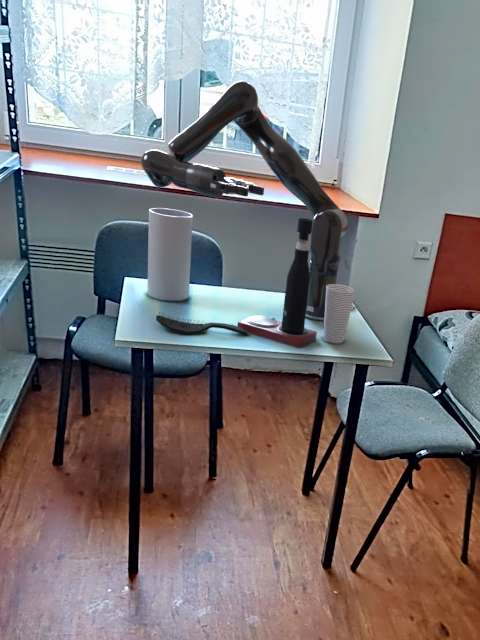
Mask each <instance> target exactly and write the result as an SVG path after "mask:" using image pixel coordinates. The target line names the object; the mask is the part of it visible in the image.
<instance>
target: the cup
mask: <svg viewBox="0 0 480 640" xmlns="http://www.w3.org/2000/svg"><path fill="white" fill-rule="evenodd" d="M355 295H356V289H355V288H354V287H351V286H349V285H345V284H339V283H337V284H328V285H326V301H325V318H324V321H323V337H322V338H323V340H324V341H325V342H327V343H330V344H342V343H343V342H344V340H345V336H346V331H347V327H348V323H349V319H350V315H351V311H352V307H353V303H354V299H355Z"/></svg>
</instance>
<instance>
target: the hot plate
mask: <svg viewBox="0 0 480 640" xmlns="http://www.w3.org/2000/svg"><path fill="white" fill-rule="evenodd" d="M281 326H282V320H277V319H276V318H275V317H269V316H265V315H261V314H255V315H252V316H249V317H247V318H244V319H242V320H238V321H237V327H240V328H242V329H244V330H246V331H248V334H251V335H255V336H258V337H261V338H265V339H268V340H272V341H274V342H278V343H281V344H285V345H288V346H291V347H294V348H301V347H303V346H305V345H307V344H309V343H312V342H313V341H315V340H316V339H317V333H318V331H315V330H313V329H308V328H306V327H305V326H304V331H303V332H301V333H291V332H287V331H285V330H283V329H282V328H281Z"/></svg>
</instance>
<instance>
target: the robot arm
mask: <svg viewBox="0 0 480 640" xmlns="http://www.w3.org/2000/svg"><path fill="white" fill-rule="evenodd" d="M258 95H259V94H258V92H257V90H256V88H255V87H254V85H252V84H251V83H250V82H248V81H245V80H239V81H236V82H235V81H234V82H233V83H232V84H230V86H229V87H228V88H227V89H226V91H224V93H223V94H222V95H221V96H220V97H219V98H218V99H217V100H216V102H215V103H214V104H213V105H212V106H211V107H210V108H209V109H208V110H207V111H206V112H204V113H203V114H202V115H201V116H200V117H199V118H198V119H197V120H195V121H194V122H193V123H192V124H191V125H189V126H188V127H187V128H185V129H184V130H182V132H180V133H178V135H176V136H175V137H174V138H172V139H171V140H170V141H169V142H168V144H167V146H168V151H169V153H166V152H164V151H162V150H158V149H149V150H147V151H145V152H144V153H143V154H142V155H141V157H140V166H141V168H142V170H143V171H144V173H145V174H146V175H147V177H148V179H149V180H150V182H151V183H152V184H153V185H154V186H155V187H157V188H167V187H169V186H170V185H172V184H173V185H174V186H175V187H177V188H180V189H185V190H189V191H192V192H195V193H197V194H201V195H205V196H209V197H213V198H221V196H223V195H224V194H225V195H231V196H232V195H238V196H241V197H249V194H252V195H257V196H264V194H265V187H263V186H261V185H256V184H255V183H254V182H252V181H251V182H249V181H245V180H243V179H238V178H234V177H227V175H226V172H225V171H224V170H223V169H222V168H218V167H213V166H209V165H205V164H200V163H192V162H190V161H192V160H193V159H194V158H196V157H197V156H198V155H199V154H200V153H202V152H203V151H204V150H205V149H206V148H207V147H208V146H209V145H210V144H211V143H212V141H213V140H214V139H215V138H216V137H217V135H218V134H219V133H220V132H221V131H222V130H223V129H224V128H225V127H226V126H228V125H230V124H231V123H232V122H234V123H235V124H236V126H238V127H239V129H240V130H242V132H243V133H244V134H245V135H246V136H247V137H248V138H249V140H250V141H251V143H253V144H254V146H255V148H256V149H257V151H258V152H259V154H260V156H261V157H262V158H263V160H264V161H265V163H266V164H267V166H268V167H269V168H270V170H271V171H272V173H273V174H274V175H275V177H276V178H277V180H278V181H279V182H280V183H281V184H282V186H283V187H285V188H286V189H287V191H289V193H291V194H292V195H293V196H294V197H295V198H297V199H298V200H299V201H300V202H301V203H303V205H304V206H305V207H306V209H308V211H309V212H310V213H311V215H312V216H313V220H312V221H313V224H312V232H311V234H310V241H309V242H310V244H309V254H310V261H309V271H310V285H309V293H308V301H307V309H306V316H305V318H307V319H309V320H314V321H320V322H324V318H325V301H326V285H328V284H338V280H339V279H338V277H339V271H340V266H341V265H340V264H341V255H340V245H341V239H342V237H343V236H345V235H346V233H347V231H348V226H349V225H348V224H349V223H348V218H347V216H346V214H345V213H344V211H343V210H342V209H341V208H340V207H339V206H338V205H337V204H336V203H335V202H334V201H333V199H332V198H331V197H330V196H329V195H328V194H327V192H325V191H326V190H324V188H323V187H322V186H321V184H320V183H319V181H318V179H317V178H316V176H315V175H314V173H313V172H312V171H311V168H309V167H308V165H307V164H306V162H305V161H304V159H303V158H302V157H301V155H300V154H299V153H298V151H297V150H296V149H295V147H294V146H293V145H292V144H291V143H290V142H289V141H288V140H287V139H286V138H284V137H283V136H282V135H281V134H280V133H278V132H277V131H276V130H275V128H273V126H272V125H271V124H270V123H269V122H268V120H267V118H266V117H265V115H264V114H263V112H262V110H261V108H260V107H259V96H258Z"/></svg>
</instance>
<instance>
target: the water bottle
mask: <svg viewBox="0 0 480 640" xmlns="http://www.w3.org/2000/svg"><path fill="white" fill-rule="evenodd" d="M312 224H313V220H312V219H309V218H304V217H299V218H298V219H297V228H296V233H297V232H298V239H297V240H298V241H297V242H296V247H295V249H294V256H293V260H292V263H290V267H289V269H288V272H287V276H286V283H285V290H284V291H285V292H284V300H283V310H282V317H281V322H282V326H281V328H282V329H283V330H285V331H287V332H291V333H301V332H303V331H304V327H305V322H306V317H305V316H306V309H307V301H308V293H309V285H310V271H309V267H310V264H309V254H310V249H309V247H310V244H309V242H308V241H309V235H311V232H312Z"/></svg>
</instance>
